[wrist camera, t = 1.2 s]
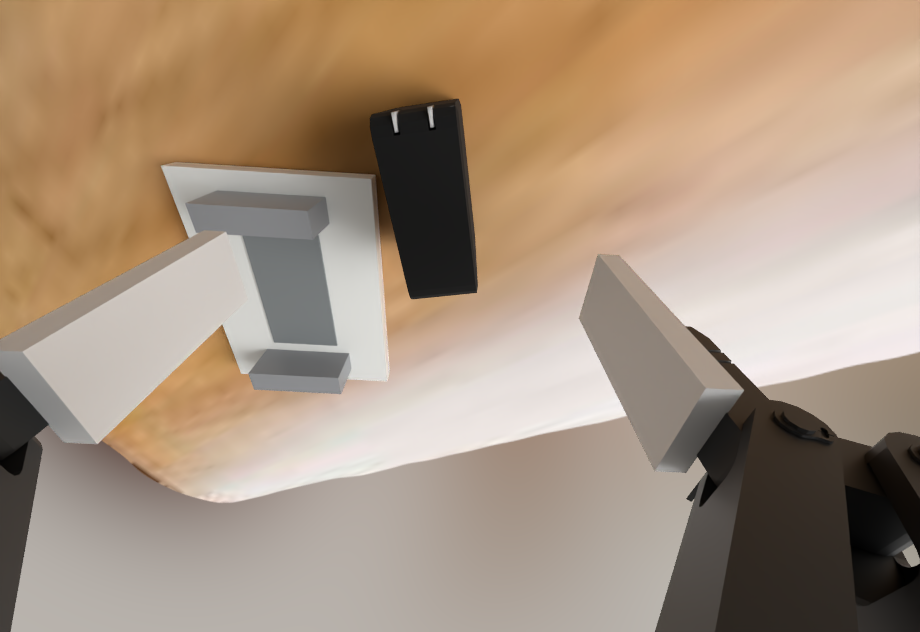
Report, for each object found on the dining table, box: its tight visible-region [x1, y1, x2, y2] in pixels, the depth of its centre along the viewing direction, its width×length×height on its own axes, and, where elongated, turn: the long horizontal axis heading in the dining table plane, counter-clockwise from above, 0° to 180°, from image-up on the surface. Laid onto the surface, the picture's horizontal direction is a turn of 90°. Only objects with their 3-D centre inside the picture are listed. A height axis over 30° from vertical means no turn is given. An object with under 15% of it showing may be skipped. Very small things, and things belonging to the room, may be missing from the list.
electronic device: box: [370, 99, 478, 299], centre depth 22 cm, size 4×10×10 cm, turn 7°
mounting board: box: [161, 162, 390, 394], centre depth 30 cm, size 20×15×5 cm
